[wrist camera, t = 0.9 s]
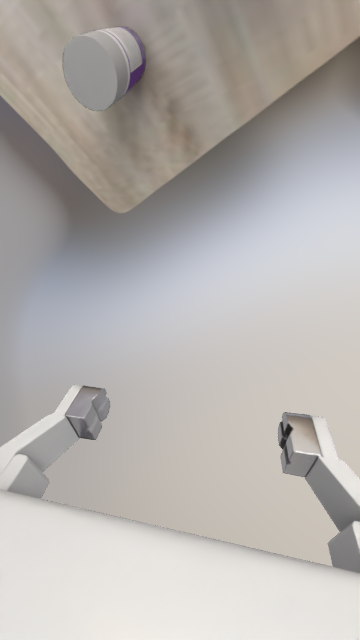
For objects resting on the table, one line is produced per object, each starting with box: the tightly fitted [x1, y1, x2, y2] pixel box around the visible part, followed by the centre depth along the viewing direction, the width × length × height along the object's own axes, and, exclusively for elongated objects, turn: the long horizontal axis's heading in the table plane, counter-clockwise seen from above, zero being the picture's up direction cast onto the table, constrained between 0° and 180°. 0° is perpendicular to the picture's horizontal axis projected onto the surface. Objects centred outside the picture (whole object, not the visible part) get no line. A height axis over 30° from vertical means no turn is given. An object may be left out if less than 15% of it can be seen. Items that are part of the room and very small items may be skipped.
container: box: [63, 27, 146, 111], centre depth 24 cm, size 5×5×15 cm
